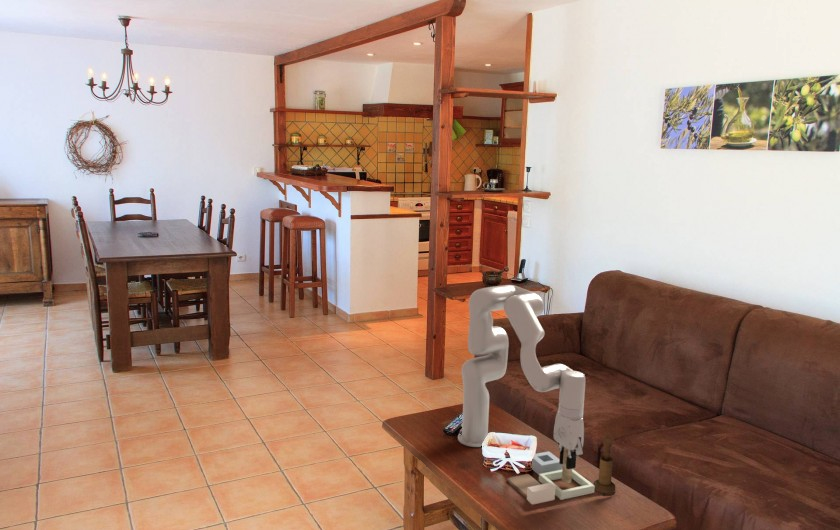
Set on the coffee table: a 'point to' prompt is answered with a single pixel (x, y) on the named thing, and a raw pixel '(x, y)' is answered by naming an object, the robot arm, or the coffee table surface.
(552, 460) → the socket
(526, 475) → the board
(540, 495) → the block
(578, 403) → the robot arm
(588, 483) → the cream square frame
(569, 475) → the dowel
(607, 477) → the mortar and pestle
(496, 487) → the coffee table surface
